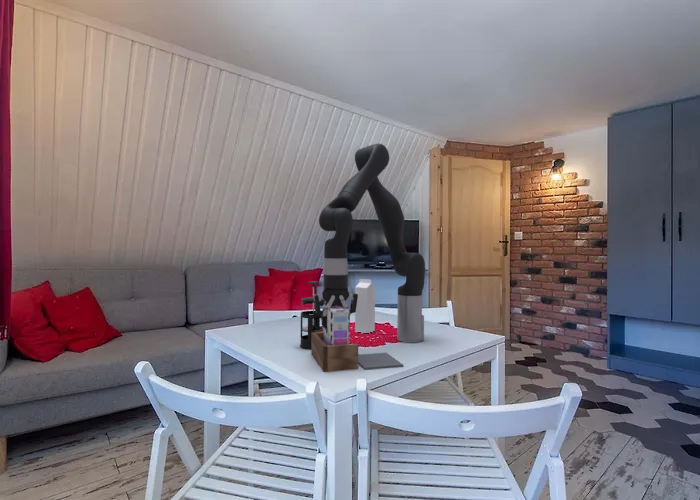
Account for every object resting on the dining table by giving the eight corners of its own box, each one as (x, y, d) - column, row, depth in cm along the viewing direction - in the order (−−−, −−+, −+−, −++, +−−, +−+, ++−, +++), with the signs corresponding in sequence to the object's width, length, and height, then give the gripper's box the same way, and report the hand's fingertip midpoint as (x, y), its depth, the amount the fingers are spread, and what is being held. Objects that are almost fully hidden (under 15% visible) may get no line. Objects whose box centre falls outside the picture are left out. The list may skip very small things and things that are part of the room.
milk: (363, 330, 169) (363, 278, 169) (375, 331, 165) (375, 279, 165) (354, 332, 164) (355, 279, 164) (366, 334, 160) (367, 279, 160)
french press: (322, 350, 134) (323, 283, 134) (296, 349, 135) (296, 282, 135) (329, 342, 146) (330, 280, 145) (305, 341, 147) (305, 279, 147)
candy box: (350, 366, 116) (350, 309, 116) (330, 367, 115) (330, 310, 115) (340, 353, 129) (340, 303, 129) (322, 354, 128) (322, 304, 128)
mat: (386, 354, 130) (386, 352, 130) (403, 366, 116) (403, 364, 116) (351, 356, 126) (351, 355, 126) (364, 369, 113) (364, 367, 113)
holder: (341, 351, 133) (341, 331, 132) (358, 368, 114) (358, 344, 114) (311, 353, 130) (311, 332, 130) (323, 371, 111) (323, 346, 111)
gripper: (354, 272, 127) (354, 324, 128) (310, 272, 124) (310, 326, 124) (361, 273, 120) (361, 328, 120) (314, 274, 116) (314, 331, 116)
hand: (335, 327), depth 122 cm, fingers closed on candy box, 6 cm apart
